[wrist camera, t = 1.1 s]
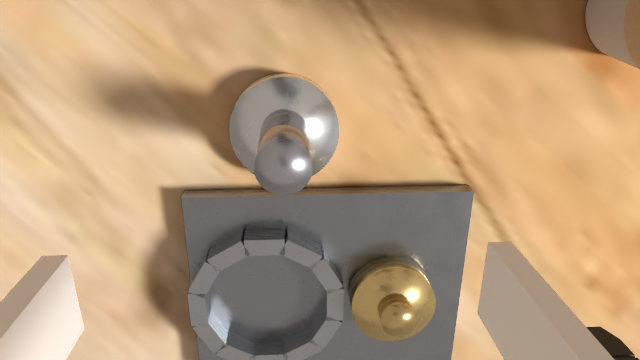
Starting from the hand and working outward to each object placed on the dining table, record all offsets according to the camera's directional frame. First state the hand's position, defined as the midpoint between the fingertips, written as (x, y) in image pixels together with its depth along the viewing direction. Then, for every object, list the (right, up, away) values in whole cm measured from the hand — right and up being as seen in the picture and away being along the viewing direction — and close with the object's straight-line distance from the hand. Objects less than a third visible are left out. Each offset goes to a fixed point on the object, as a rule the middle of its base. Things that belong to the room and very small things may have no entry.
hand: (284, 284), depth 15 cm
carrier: (+2, -5, +22) cm, 22 cm away
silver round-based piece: (-1, +7, +17) cm, 18 cm away
